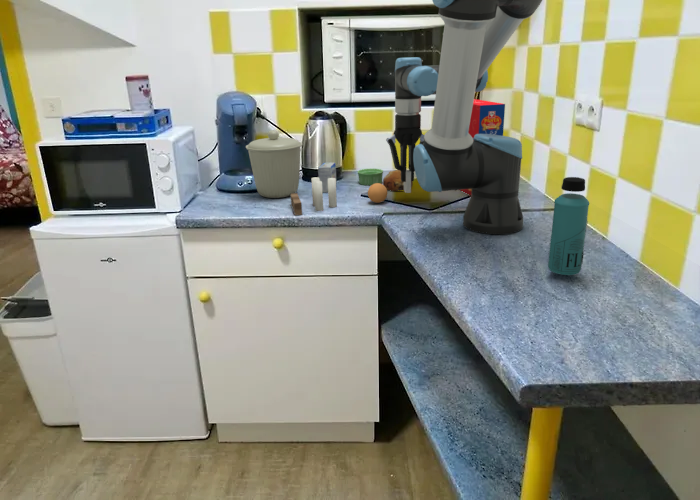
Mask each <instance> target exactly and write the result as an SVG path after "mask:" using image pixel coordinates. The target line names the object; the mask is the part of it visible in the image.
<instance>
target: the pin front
mask: <svg viewBox="0 0 700 500" xmlns="http://www.w3.org/2000/svg"><path fill="white" fill-rule="evenodd" d="M336 183H337V177H336V178H328V194H327V196H328V207H329V208H332V209H333V208H337V206H338V204H337V202H338V200H337V187H336Z"/></svg>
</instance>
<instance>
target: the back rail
mask: <svg viewBox="0 0 700 500" xmlns="http://www.w3.org/2000/svg"><path fill="white" fill-rule="evenodd" d="M290 205H291V208H292V210H293V213H294V215H295V216H302V215H303V206H302V201H301V199H300V197H299V193H297V192H296V193H291V196H290Z"/></svg>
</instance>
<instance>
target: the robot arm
mask: <svg viewBox="0 0 700 500" xmlns="http://www.w3.org/2000/svg"><path fill="white" fill-rule="evenodd" d="M431 1H432V3H433V4H434V6H436V7H437V8H438V16H439V17H440V18H441V20H442V21H443V22H444V23H443V24H444V25H443V26H444V28H443V34H442V42H441V50H440V51H441V52H440V59H439V64H438V65H437V64H436V65H435V64H434V65H423V64H422V63H423V62H422V58H421V57H416V56H415V57H414V56H413V57H411V56H410V57H398V58H396V60H395V64H394V65H395V66H394V79H395V81H394V83H395V84H394V88H395V89H394V90H395V91H394V95H395V97H394V98H395V102H394V107H395V108H394V112H395V113H396V114H395V115H394V121H395V123H394V131H393V134H392V135H391V136H390V137H387V138H386V139H385V141H386V142H387V144H388V146H389V149H390V154H391V157H392V161H393V166H394V168H395V169H396V170H400V171H401V181H402V182H404V191H403V192H404V193H406V194H409V193H410V194H411V193H412V187H411V181H412V182H414V180H415V177H416V180H417V183H418V184H419V186H420V188H421V189H422V190H423V191H424V192H425V191H426V192H429V193H430V192H434V193H435V192H439V193H442V192H448V191H456V190H458V191H459V190H461V189H472V191H471V196H470V197H469V201H468V203H467V206H466V208H465V211H464V214H463V216H462V217H463V219H462V225H463V226H464V228H466V229H468V230H469V231H472V232H474V233H475V232H476V233H480V234H487V235H506V234H508V235H509V234H514V233H517V232H519V231H521V230H523V228H524V215H523V212H522V208H521V207H522V206H521V203H520V200H519V193H520V192H519V191H520V181H521V179H520V178H521V168H522V159H523V145H522V142H521V140H519V139H518V138H515V137H511V136H506V135H503V136H501V135H493V134H476V135H475V136H474V138H472V136H471V135H470V134H469V133H468V131H469V125H470V119H471V113H472V107H473V101H474V99H475V96H476V95H475V94H476V93H478V92H482V91H484V90H485V88H486V87H487V83H488V80H489V73H488V69H489V68H490V66H491V65H492V63H494V60H495V59H496V58H497V56H498V55H499V54H500V52H501V51H502V50H503V48H504V47H505V45H506V44H507V43H508V42H509V40H510V39H511V37H512V36H513V34H514V33H515V32H516V30H517V29H518V27H519V26H520V24H521V23H523V20H526V19H529V18H530V17H531V16H533V14H534V13H535V12H536V11H537V10H538V8H539V7H540V5H541V4H542V2H543V0H431ZM431 95H435V99H434V105H433V106H434V108H433V114H432V115H433V116H432V122H431V123H432V124H431V128H430V129H429V130H428V131H426V132H425V133H424V134H423V131H422V129H421V127H422V125H421V124H422V123H421V121H422V119H421V118H422V115H421V112H422V97H428V96H431ZM473 140H474V141H473ZM396 141H397V142H398V144H399V149H400V157H399V154H398V151H397V146H396ZM418 141H419V144H417V145H416V143H417V142H418ZM407 149H408V152H407ZM407 153H408V154H407ZM407 155H408V158H407ZM399 158H400V159H399ZM407 159H408V162H407ZM407 163H408V169H407Z"/></svg>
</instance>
